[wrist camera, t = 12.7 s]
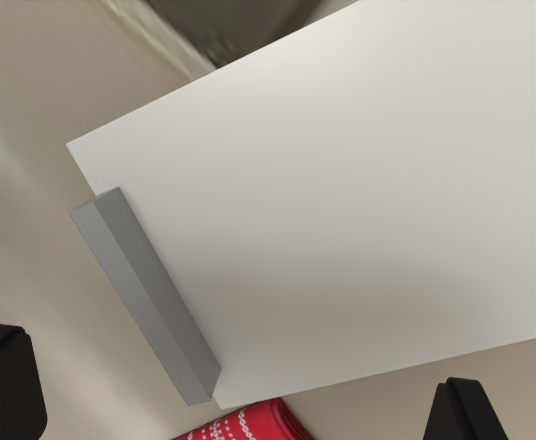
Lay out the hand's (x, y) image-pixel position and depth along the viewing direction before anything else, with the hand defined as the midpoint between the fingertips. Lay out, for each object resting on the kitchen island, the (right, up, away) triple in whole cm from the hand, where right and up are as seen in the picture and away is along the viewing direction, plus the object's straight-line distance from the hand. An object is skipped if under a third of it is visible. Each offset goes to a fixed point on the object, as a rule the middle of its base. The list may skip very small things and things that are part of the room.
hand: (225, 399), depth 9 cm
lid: (+5, +4, +8) cm, 10 cm away
